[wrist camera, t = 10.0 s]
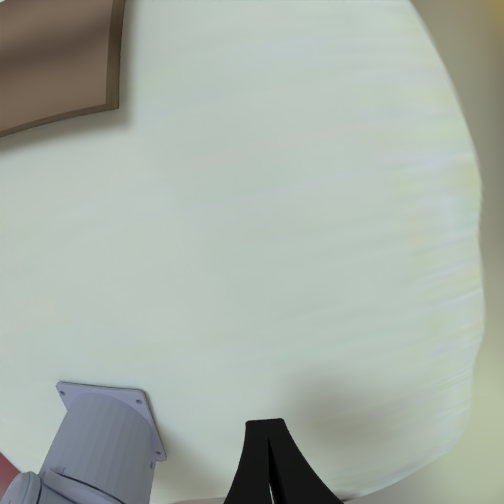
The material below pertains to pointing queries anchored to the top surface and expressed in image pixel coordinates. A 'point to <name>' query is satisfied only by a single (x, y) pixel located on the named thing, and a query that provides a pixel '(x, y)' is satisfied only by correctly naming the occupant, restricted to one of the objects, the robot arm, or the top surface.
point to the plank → (58, 60)
